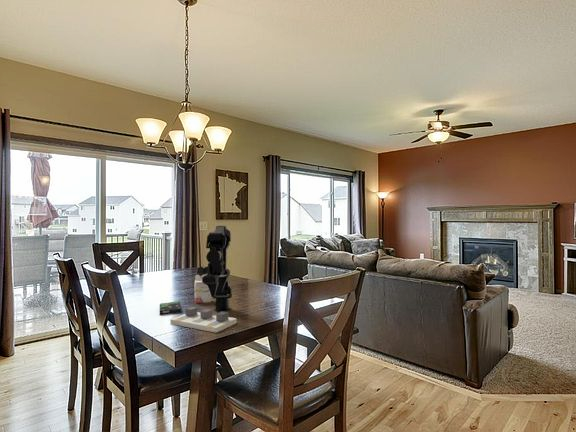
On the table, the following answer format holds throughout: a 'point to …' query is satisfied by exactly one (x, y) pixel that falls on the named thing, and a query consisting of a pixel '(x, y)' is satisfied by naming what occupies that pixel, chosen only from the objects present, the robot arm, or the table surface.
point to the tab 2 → (222, 316)
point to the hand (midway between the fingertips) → (216, 294)
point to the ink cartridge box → (201, 291)
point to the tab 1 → (191, 311)
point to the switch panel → (203, 322)
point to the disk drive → (170, 308)
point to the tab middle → (206, 313)
